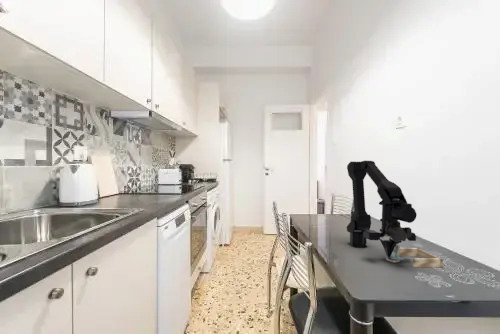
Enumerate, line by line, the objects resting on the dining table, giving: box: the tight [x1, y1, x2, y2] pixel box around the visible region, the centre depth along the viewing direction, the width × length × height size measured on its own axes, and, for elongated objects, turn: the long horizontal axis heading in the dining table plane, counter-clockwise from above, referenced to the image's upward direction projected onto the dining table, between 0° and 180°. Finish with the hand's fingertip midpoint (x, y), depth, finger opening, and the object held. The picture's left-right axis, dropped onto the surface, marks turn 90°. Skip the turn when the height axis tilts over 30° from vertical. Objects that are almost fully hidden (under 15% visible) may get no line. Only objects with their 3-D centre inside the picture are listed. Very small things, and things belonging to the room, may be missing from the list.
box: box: [393, 247, 444, 268], centre depth 112 cm, size 11×14×3 cm
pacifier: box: [385, 244, 405, 263], centre depth 111 cm, size 7×6×6 cm
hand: (388, 256), depth 111 cm, fingers closed
